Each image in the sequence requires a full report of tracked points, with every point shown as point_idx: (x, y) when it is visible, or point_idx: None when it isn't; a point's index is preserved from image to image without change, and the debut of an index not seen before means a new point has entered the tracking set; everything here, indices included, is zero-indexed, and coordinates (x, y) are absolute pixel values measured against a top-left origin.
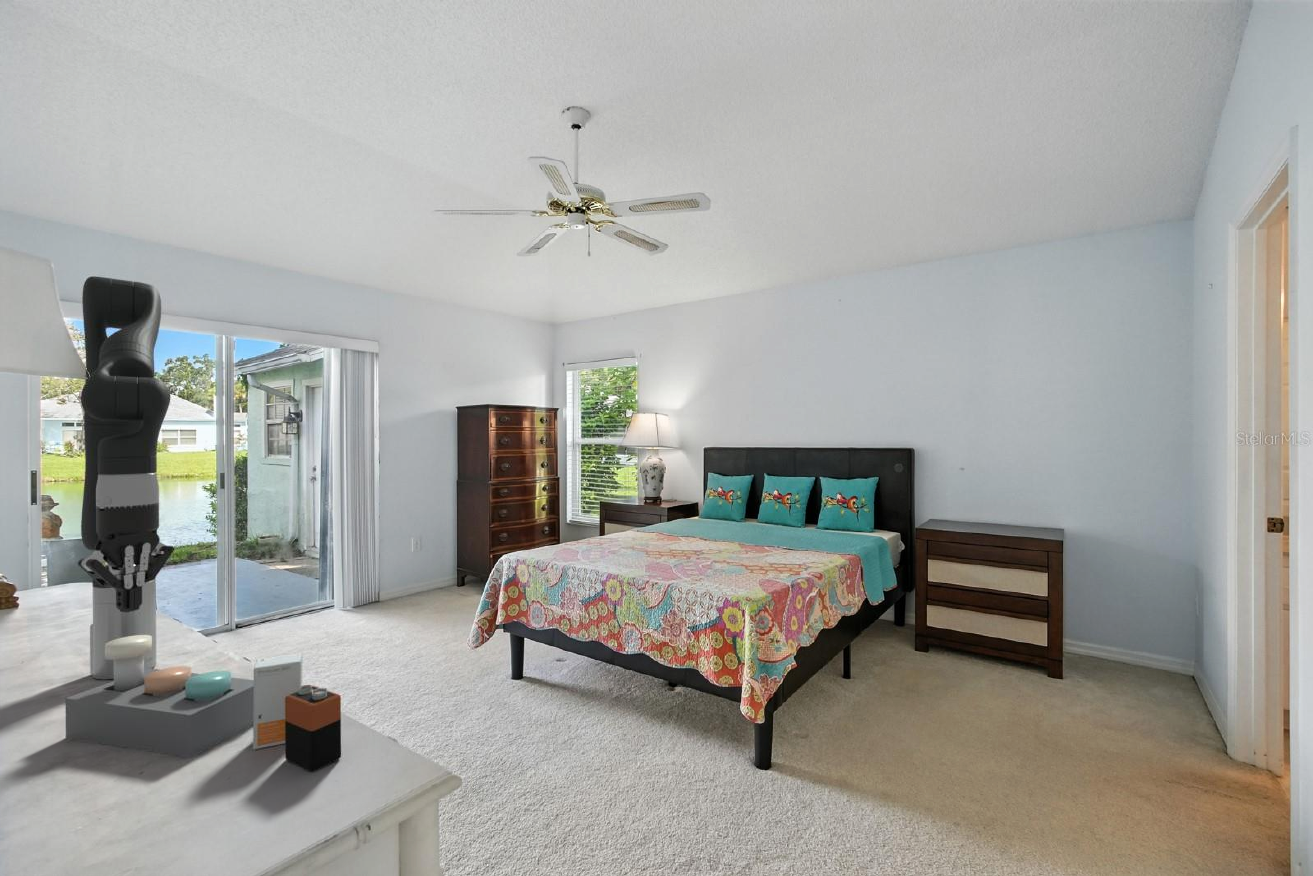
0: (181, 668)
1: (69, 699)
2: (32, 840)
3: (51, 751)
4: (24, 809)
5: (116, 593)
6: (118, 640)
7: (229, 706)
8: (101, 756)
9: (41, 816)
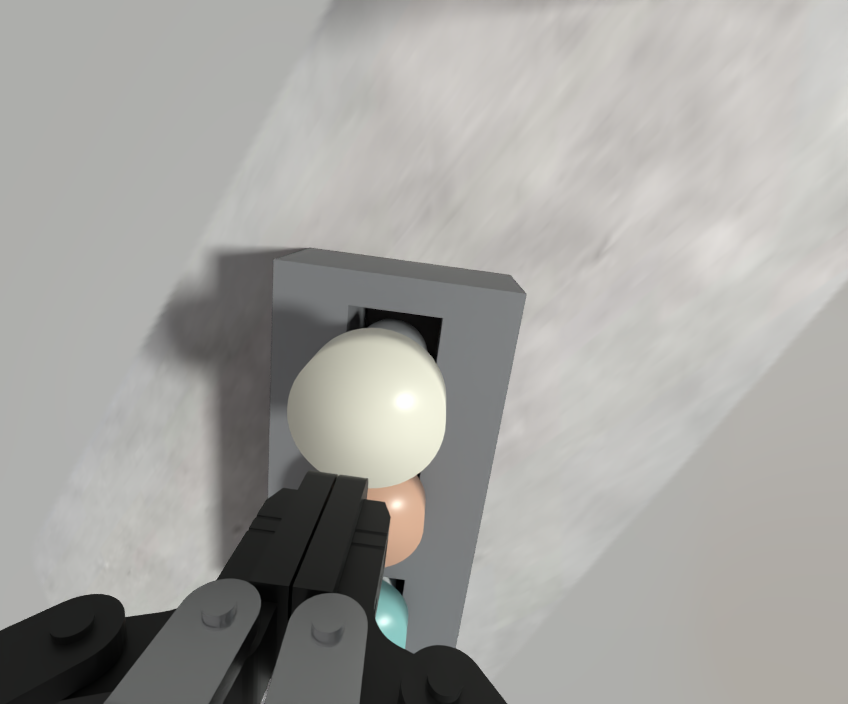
0: (407, 530)
1: (273, 277)
2: (65, 532)
3: (256, 282)
4: (105, 447)
5: (226, 568)
6: (361, 373)
7: None
8: (264, 410)
9: (103, 491)
